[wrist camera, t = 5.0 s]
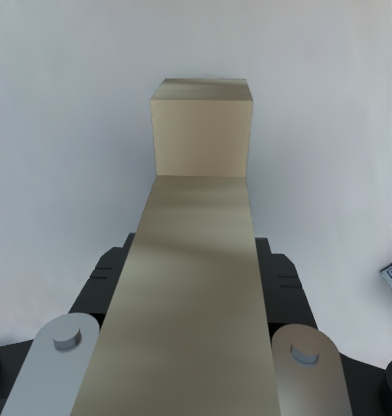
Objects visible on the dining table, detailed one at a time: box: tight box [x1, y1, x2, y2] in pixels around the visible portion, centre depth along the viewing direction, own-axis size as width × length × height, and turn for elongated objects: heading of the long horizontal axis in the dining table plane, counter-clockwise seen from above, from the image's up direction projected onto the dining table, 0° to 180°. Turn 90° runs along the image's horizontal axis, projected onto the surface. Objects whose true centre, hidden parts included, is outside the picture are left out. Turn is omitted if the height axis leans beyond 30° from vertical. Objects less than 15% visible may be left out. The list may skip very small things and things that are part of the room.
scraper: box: [70, 79, 281, 416], centre depth 9 cm, size 3×8×11 cm, turn 0°
